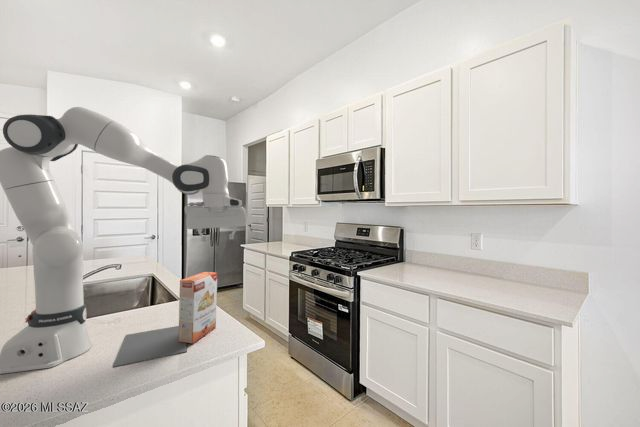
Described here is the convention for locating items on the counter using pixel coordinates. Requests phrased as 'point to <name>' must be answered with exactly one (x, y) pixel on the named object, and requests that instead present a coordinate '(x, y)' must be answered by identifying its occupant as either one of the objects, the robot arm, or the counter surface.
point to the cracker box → (197, 306)
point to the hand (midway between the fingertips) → (218, 240)
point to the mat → (150, 346)
